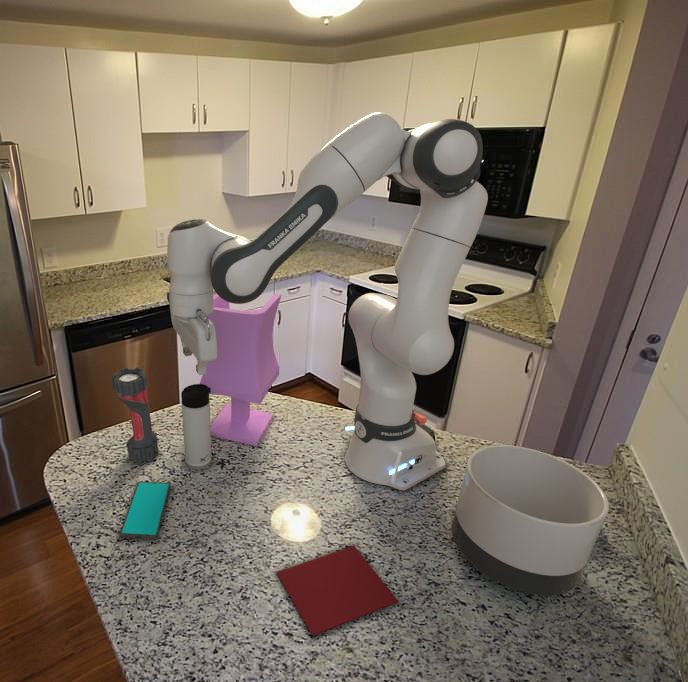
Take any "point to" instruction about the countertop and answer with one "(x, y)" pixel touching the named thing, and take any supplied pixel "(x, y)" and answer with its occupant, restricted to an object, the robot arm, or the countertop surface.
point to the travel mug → (196, 426)
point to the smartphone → (146, 511)
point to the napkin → (335, 589)
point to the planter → (528, 518)
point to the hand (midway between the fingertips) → (194, 363)
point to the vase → (242, 369)
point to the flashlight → (137, 413)
